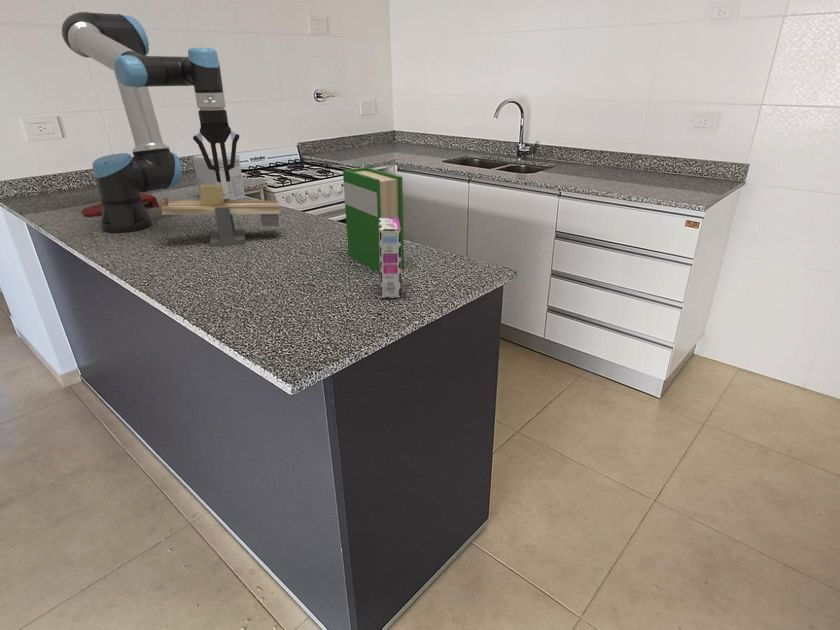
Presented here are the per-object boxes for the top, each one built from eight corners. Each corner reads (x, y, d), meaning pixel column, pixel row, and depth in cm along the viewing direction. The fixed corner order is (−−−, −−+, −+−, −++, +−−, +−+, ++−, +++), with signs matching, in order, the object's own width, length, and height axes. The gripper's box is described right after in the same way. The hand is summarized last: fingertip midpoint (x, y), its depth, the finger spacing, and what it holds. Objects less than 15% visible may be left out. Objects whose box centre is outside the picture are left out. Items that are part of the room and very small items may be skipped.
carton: (91, 228, 190) (160, 207, 203) (85, 215, 188) (155, 195, 200) (85, 221, 199) (152, 202, 211) (80, 209, 196) (148, 190, 209)
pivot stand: (212, 236, 166) (206, 200, 161) (244, 233, 169) (239, 198, 164) (210, 247, 156) (203, 209, 151) (245, 243, 158) (239, 206, 154)
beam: (167, 220, 159) (164, 195, 156) (278, 219, 169) (277, 196, 166) (163, 228, 151) (160, 202, 148) (280, 226, 161) (279, 202, 158)
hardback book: (403, 268, 138) (402, 176, 128) (379, 274, 134) (376, 180, 124) (371, 251, 151) (367, 167, 141) (348, 256, 147) (342, 170, 137)
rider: (202, 203, 158) (200, 183, 156) (223, 203, 160) (222, 184, 158) (202, 207, 154) (200, 187, 151) (223, 207, 156) (221, 187, 153)
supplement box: (246, 197, 218) (240, 154, 211) (220, 203, 208) (212, 158, 201) (225, 194, 225) (218, 152, 217) (199, 200, 215) (191, 156, 207)
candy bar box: (402, 298, 119) (401, 229, 112) (380, 299, 119) (378, 230, 112) (400, 281, 129) (398, 216, 123) (380, 282, 129) (377, 217, 122)
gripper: (186, 110, 142) (202, 196, 152) (236, 109, 145) (248, 193, 155) (188, 108, 148) (203, 191, 158) (236, 107, 152) (247, 188, 162)
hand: (225, 192), depth 157 cm, fingers closed
